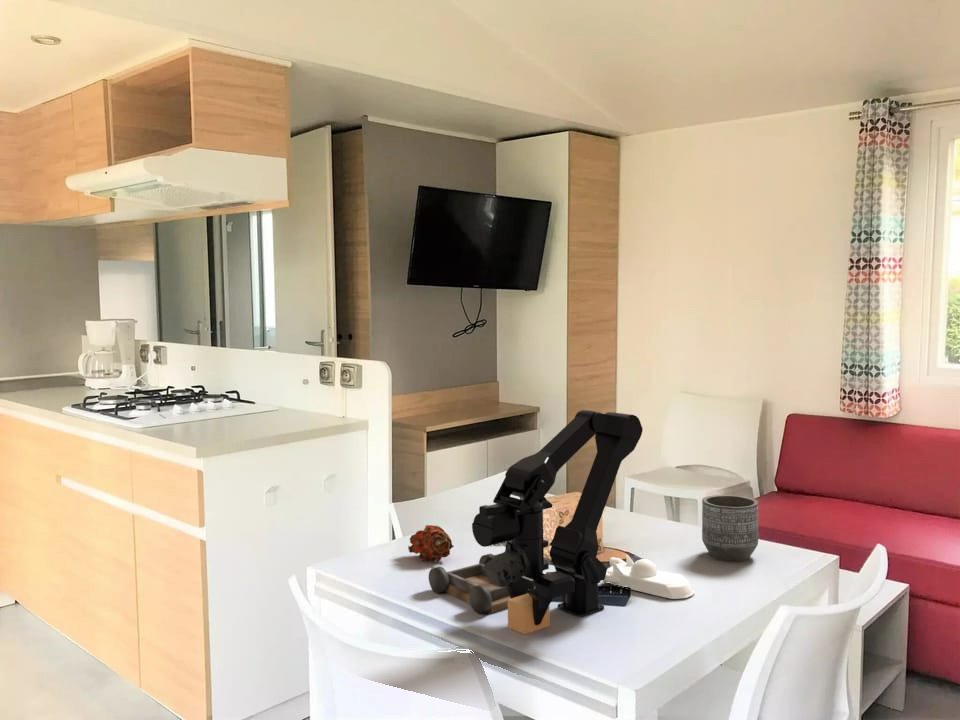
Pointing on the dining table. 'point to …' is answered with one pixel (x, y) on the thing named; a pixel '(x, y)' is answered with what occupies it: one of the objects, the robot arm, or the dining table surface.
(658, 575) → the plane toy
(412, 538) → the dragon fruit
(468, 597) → the chassis
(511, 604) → the light orange rectangular block
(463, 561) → the dining table surface
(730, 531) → the planter
